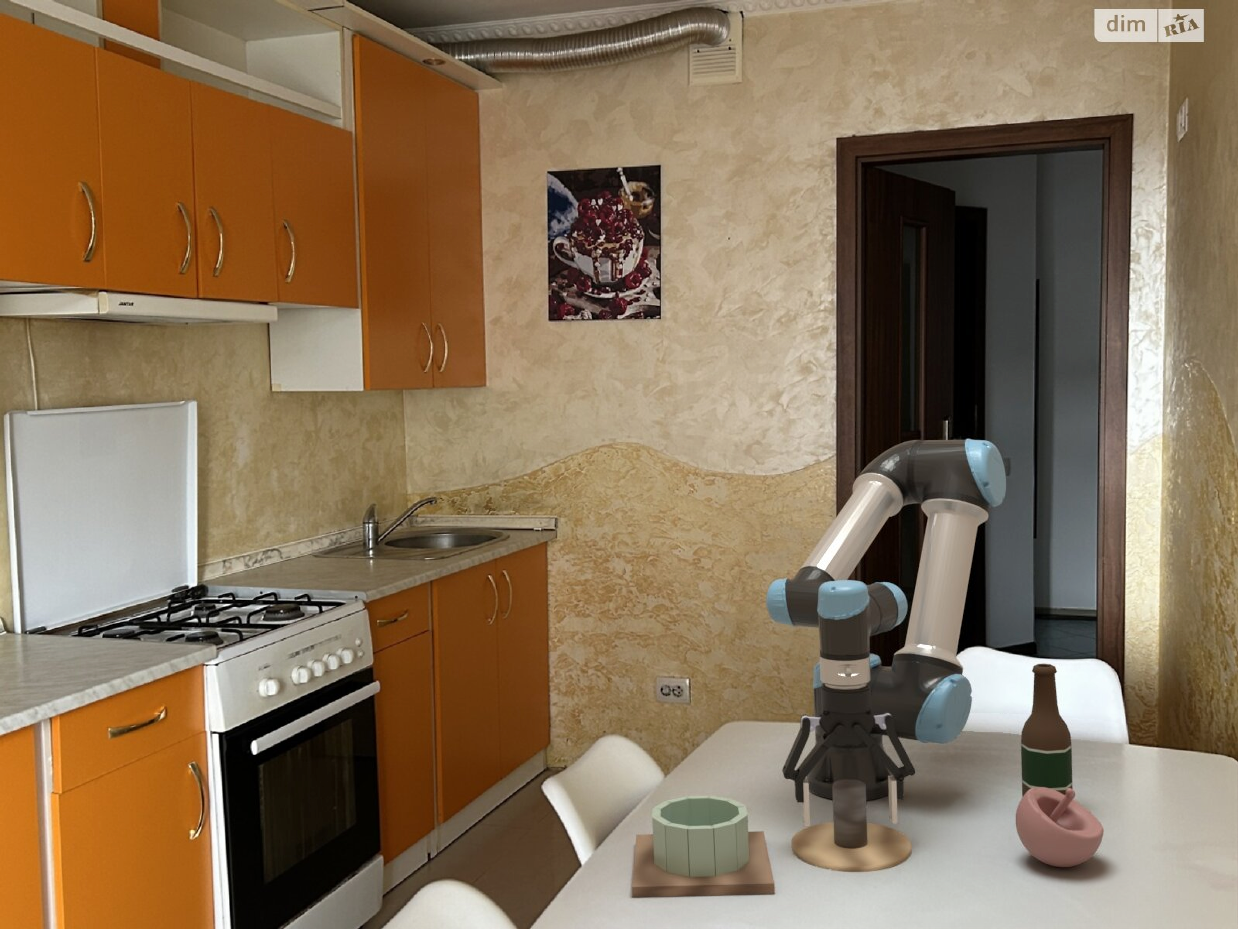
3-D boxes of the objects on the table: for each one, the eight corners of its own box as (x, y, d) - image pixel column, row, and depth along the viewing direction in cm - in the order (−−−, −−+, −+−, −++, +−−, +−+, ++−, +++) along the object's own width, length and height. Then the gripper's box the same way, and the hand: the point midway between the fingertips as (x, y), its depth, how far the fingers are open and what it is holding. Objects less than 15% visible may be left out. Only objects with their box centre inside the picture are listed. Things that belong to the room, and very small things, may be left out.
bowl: (745, 839, 186) (743, 794, 186) (751, 875, 172) (749, 827, 172) (655, 841, 187) (653, 797, 187) (653, 878, 173) (651, 830, 173)
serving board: (763, 840, 189) (763, 831, 189) (774, 894, 169) (774, 883, 169) (636, 844, 190) (636, 834, 190) (632, 897, 170) (632, 887, 170)
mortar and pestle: (1095, 886, 167) (1093, 805, 166) (1007, 871, 173) (1005, 793, 173) (1111, 856, 177) (1109, 780, 177) (1027, 843, 184) (1025, 769, 183)
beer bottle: (1048, 822, 192) (1045, 673, 190) (1012, 808, 199) (1008, 664, 197) (1083, 812, 195) (1080, 666, 194) (1046, 799, 202) (1043, 657, 201)
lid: (899, 827, 193) (897, 764, 193) (922, 872, 175) (920, 803, 175) (786, 830, 194) (784, 768, 193) (798, 875, 176) (795, 807, 176)
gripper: (766, 692, 180) (771, 832, 181) (932, 687, 179) (936, 828, 180) (762, 680, 187) (767, 814, 189) (922, 675, 186) (926, 810, 188)
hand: (849, 821), depth 184 cm, fingers open, 12 cm apart
